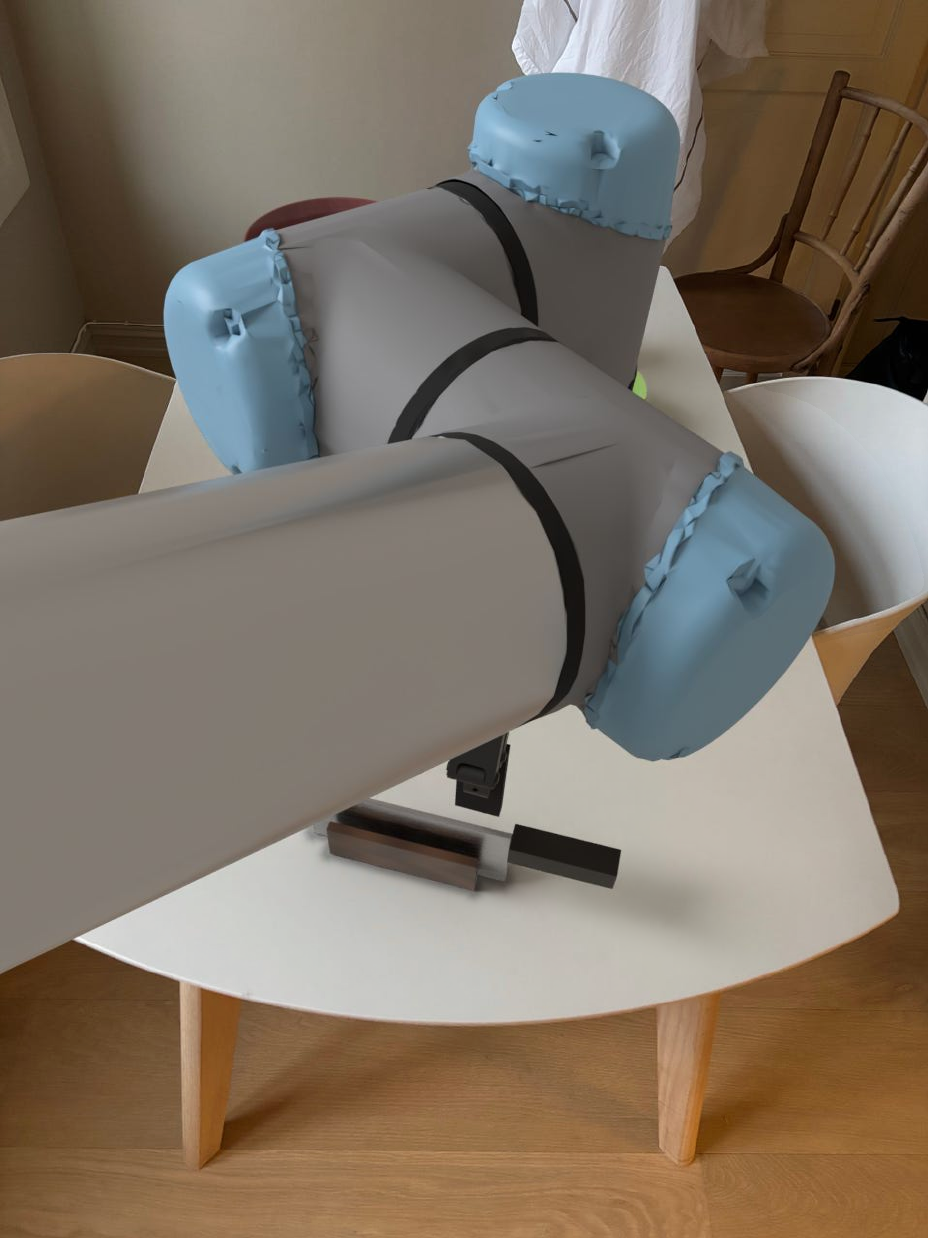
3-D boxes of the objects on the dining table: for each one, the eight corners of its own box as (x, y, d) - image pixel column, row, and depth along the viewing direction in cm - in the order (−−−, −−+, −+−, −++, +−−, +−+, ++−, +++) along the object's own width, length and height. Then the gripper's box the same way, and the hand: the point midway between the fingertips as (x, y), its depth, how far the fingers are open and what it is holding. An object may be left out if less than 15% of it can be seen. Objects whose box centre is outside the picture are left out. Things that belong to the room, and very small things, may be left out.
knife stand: (483, 855, 76) (486, 831, 73) (474, 891, 74) (476, 868, 71) (342, 819, 77) (339, 794, 74) (329, 854, 75) (325, 829, 72)
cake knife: (607, 892, 74) (621, 849, 69) (602, 917, 73) (617, 876, 67) (319, 819, 77) (312, 772, 72) (310, 842, 76) (302, 797, 71)
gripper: (564, 669, 35) (517, 911, 51) (655, 329, 52) (598, 593, 67) (375, 624, 37) (387, 874, 52) (522, 305, 53) (497, 570, 69)
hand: (506, 716), depth 60 cm, fingers open, 13 cm apart
